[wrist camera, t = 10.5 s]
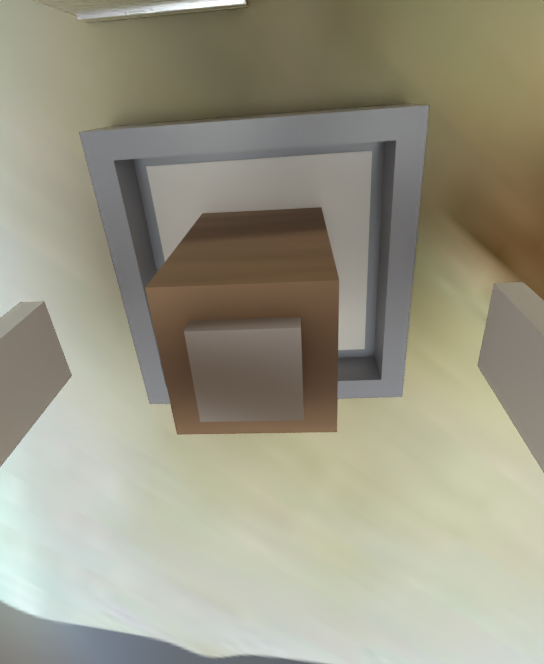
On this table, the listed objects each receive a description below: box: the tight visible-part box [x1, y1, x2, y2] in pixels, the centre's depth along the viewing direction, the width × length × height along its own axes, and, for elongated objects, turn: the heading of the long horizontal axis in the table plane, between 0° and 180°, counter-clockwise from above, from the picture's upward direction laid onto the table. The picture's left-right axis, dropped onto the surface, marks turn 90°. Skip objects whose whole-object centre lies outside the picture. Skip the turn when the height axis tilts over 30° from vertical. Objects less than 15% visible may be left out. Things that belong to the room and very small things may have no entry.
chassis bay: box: [79, 104, 429, 404], centre depth 19 cm, size 12×12×3 cm
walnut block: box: [145, 207, 339, 434], centre depth 15 cm, size 5×5×9 cm
